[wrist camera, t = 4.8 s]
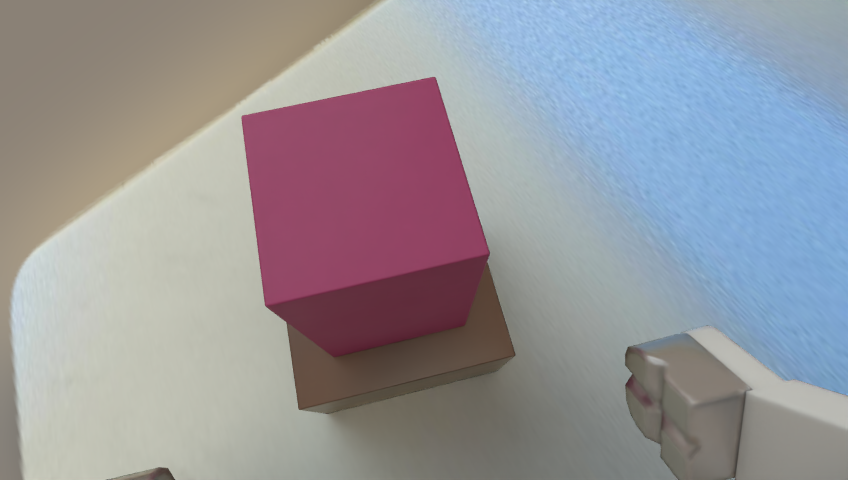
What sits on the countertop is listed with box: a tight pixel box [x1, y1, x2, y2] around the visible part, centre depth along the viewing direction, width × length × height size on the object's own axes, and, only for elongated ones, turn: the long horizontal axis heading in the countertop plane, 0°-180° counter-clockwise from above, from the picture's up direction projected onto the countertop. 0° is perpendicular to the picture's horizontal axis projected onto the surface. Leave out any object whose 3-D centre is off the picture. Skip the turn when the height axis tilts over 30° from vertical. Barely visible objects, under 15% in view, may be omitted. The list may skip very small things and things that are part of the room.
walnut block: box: [287, 263, 515, 414], centre depth 21 cm, size 8×8×5 cm
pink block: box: [242, 77, 490, 357], centre depth 15 cm, size 5×5×8 cm
